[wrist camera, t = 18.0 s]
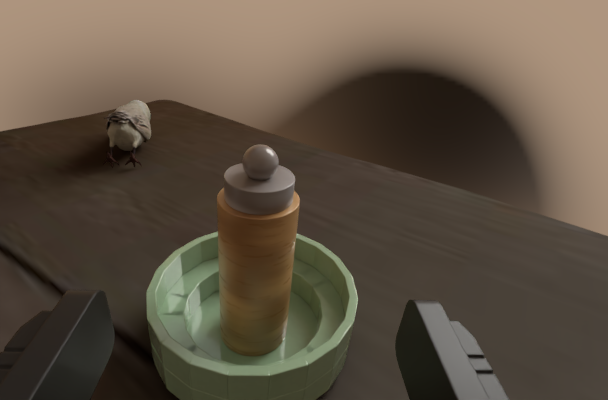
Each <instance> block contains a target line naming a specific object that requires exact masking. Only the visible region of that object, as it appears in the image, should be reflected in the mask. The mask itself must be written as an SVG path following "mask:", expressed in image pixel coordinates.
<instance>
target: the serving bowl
mask: <svg viewBox="0 0 608 400" xmlns="http://www.w3.org/2000/svg"><path fill="white" fill-rule="evenodd" d="M357 303H358V296H357V292H356V288H355V284H354V280H353V277H352V275H351V274H350V272H349V271H348V270H347V268H346V267H345V265H344V264H343V263H342V261H341V260H340V259H339V257H337V256H336V255H335V254H333V253H332V252H331V251H330V250H328V249H327V248H326V247H324V246H323V245H322V244H320V243H318V242H315V241H313V240H311V239H309V238H306V237H304V236H302V235H300V234H296V243H295V253H294V263H293V273H292V282H291V292H290V302H289V312H288V321H287V331H286V336H285V338H284V340H283V342H282V343H281V344H280V345H279V346H278V347H277V348H276V349H275V350H273V351H271V352H270V353H267V354H264V355H261V356H244V355H240V354H237V353H235V352H233V351H232V350H230V349H229V348H228V347H227V346H226V345H225V344H224V342H223V340H222V338H221V334H220V301H219V259H218V232H215V233H212V234H209V235H206V236H203V237H199V238H197V239H195V240H193V241H191V242H190V243H188V244H186V245H185V246H183V247H181V248H179V249H178V250H176V251H175V252H173V253H172V254H171V255H170V256H169V257H168V258H167V259H166V260H165V261H164V262H163V263H162V264H161V265H160V267H159V268H158V269H157V270H156V272H155V274H154V276H153V278H152V281H151V283H150V285H149V287H148V290H147V293H146V310H147V322H148V329H149V335H150V340H151V347H152V354H153V360H154V364H155V366H156V368H157V370H158V372H159V374H160V376H161V378H162V380H163V382H164V384H165V386H166V388H167V389H168V390H169V391H170V392H171V393H173V394H174V395H175V396H176V397H177V398H179V399H180V400H316V399H317V398H318V397H320V396H321V395H322V394H324V393H325V392H326V391H328V389H329V388H330V387H331V385H332V384H333V382H334V380H335V379H336V377H337V376H338V374H339V373H340V371H341V369H342V368H343V366H344V364H345V360H346V355H347V351H348V346H349V342H350V338H351V333H352V329H353V325H354V320H355V314H356V309H357Z"/></svg>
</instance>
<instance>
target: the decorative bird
mask: <svg viewBox="0 0 608 400" xmlns="http://www.w3.org/2000/svg"><path fill="white" fill-rule="evenodd" d="M105 118H108V119H107V123H106V130H107V133H108V136H109V139H110V154H109V152H107V156H108V157H107V160H105V161H104V163H103V165H104V164H105V163H106V162H110V163H111V166H112V168H113V162H115V163H117V164H118V162H117V161H115V160H114V159H113V158H112V154H113V147H114V145H115V144H116V145H117V146H118V148H120V149H122V150H124V151H131V150H133V154H132V152H130V156H131V157H130V160H129V161H127V163H126V165H127V164H128V163H129V162H133V165H134V167H135V162H137V163H139V164H140V165H141V163H140V162H139V161H138V160H136V158H135V157H134V156H135V148H137V147H138V146H139V145H141V144H142V142H147V141H148V140H149V139H150V137H151V128H150V123H149V122H150V118H151V114H150V111H149V108H148V106H147V105H146V104H145V103H143V102H142V101H139V100H133V101H131V102H129V103H128V104H127V105H124V106H121V107H119V108H118V109H116V111H115V112H114V113H110V114H109V115H108V116H107V117H105ZM105 118H104V119H105ZM118 165H119V164H118ZM141 166H142V165H141Z"/></svg>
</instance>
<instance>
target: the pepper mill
mask: <svg viewBox="0 0 608 400" xmlns="http://www.w3.org/2000/svg"><path fill="white" fill-rule="evenodd" d="M294 185H295V177H294V175H293V173H292V172H291V171H290V170H288V169H286V168H285V167H282V166H280V165H278V157H277V155H276V153H275V152H274V150H273V149H271V148H270V147H268V146H266V145H255V146H252V147H250V148H249V149H248V150H247V151H246V152H245V154H244V156H243V160H242V163H241V164H237V165H234V166H232V167H230V168H229V169H228V170H227V171H226V172H225V174H224V188H223V189H222V190H221V191H220V192H219V194H218V196H217V217H218V259H219V301H220V334H221V338H222V340H223V342H224V344H225V345H226V346H227V347H228V348H229V349H230V350H232V351H233V352H235V353H237V354H240V355H244V356H261V355H264V354H267V353H270V352H271V351H273V350H275V349H276V348H277V347H278V346H279V345H280V344H281V343H282V342H283V340H284V338H285V336H286V331H287V321H288V312H289V302H290V292H291V282H292V273H293V263H294V253H295V243H296V234H297V224H298V214H299V204H300V199H299V196H298V194H297V193H296V192H295V191H294Z"/></svg>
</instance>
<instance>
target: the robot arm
mask: <svg viewBox="0 0 608 400" xmlns="http://www.w3.org/2000/svg"><path fill="white" fill-rule="evenodd" d="M113 345H114V328H113V324H112V319H111V315H110V311H109V307H108V302H107V298H106V294H105V293H104V291H101V290H69V291H67V292H66V293H65V294H64V295H63V297H62V298H61V299H60V301H59V302H58V304H57V305H56V306H55V308H54V309H53V311H41V312H40V313H39V314H37V315H36V316H35V317H33V318H32V319H31V320H29V321H28V322H27V323H25V324H24V325H23V326H21V327H20V328H19V330H18V331H17V332H16V333H15V335H14V336H13V337H12V339H11V340H10V341H9V342H8V344H7V345H6V346H5V349H4V351H3V352H1V353H0V400H90V399H91V396H92V394H93V392H94V390H95V388H96V386H97V384H98V381H99V379H100V377H101V375H102V373H103V371H104V369H105V366H106V364H107V362H108V360H109V358H110V356H111V353H112V349H113ZM395 349H396V357H397V361H398V364H399V368H400V371H401V374H402V377H403V380H404V383H405V386H406V389H407V393H408V396H409V399H410V400H509V398H508V396H507V394H506V393H505V391H504V389H503V387H502V386H501V384H500V382H499V380H498V379H497V377H496V375H494V374H493V370H492V368H491V366H490V364H489V363H488V361H487V359H485V358H484V354H483V352H482V350H481V348H480V347H479V345H478V343H477V341H476V340H475V338H474V336H473V335H472V334H471V333H470V332H469V331H468V330H467V329H466V328H464V327H463V326H462V325H461V324H460V323H459V322H458V321H449V319H448V317H447V315H446V313H445V311H444V309H443V307H442V305H441V304H440V303H439V302H438V301H433V300H409V301H408V302H407V305H406V308H405V311H404V314H403V317H402V320H401V323H400V327H399V330H398V333H397V336H396V343H395Z"/></svg>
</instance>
